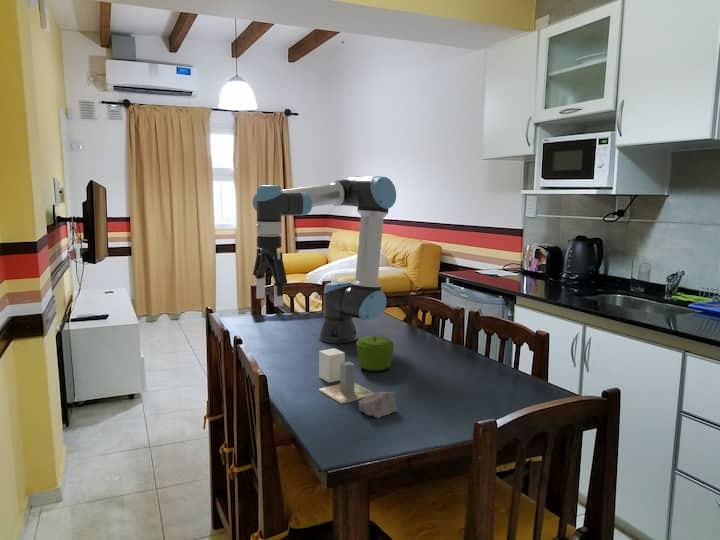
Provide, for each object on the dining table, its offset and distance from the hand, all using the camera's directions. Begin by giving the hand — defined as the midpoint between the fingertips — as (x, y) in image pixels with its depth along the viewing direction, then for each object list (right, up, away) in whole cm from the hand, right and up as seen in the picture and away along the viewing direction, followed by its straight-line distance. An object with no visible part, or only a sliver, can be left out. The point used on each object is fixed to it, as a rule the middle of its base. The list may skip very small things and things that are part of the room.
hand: (269, 302), depth 169 cm
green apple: (+34, -23, +10) cm, 42 cm away
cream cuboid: (+20, -24, 0) cm, 31 cm away
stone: (+34, -29, -26) cm, 51 cm away
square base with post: (+25, -26, -13) cm, 38 cm away
